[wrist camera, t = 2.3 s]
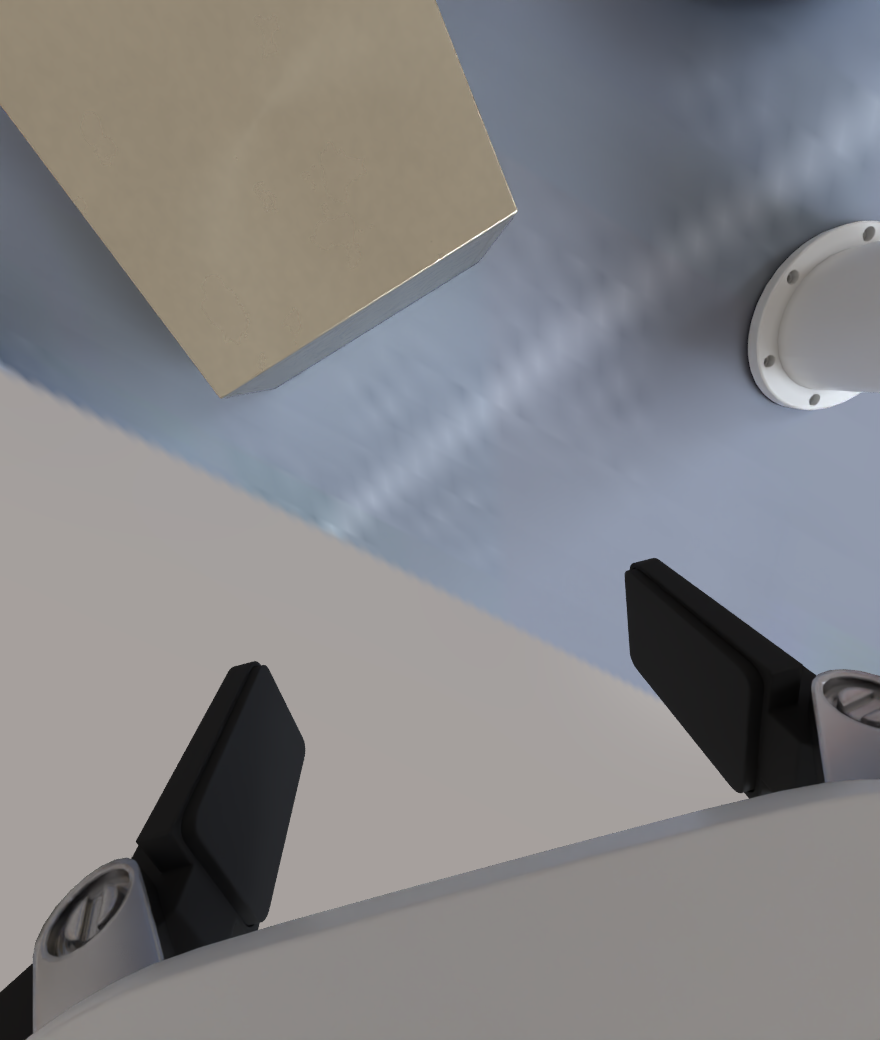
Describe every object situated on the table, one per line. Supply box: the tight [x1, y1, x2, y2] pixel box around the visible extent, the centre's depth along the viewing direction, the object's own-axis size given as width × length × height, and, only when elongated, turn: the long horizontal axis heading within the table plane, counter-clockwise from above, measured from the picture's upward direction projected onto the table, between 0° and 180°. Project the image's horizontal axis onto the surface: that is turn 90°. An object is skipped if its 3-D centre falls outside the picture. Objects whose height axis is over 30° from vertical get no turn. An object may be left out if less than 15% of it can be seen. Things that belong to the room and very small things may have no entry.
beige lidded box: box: [0, 0, 518, 399], centre depth 21 cm, size 16×17×10 cm
